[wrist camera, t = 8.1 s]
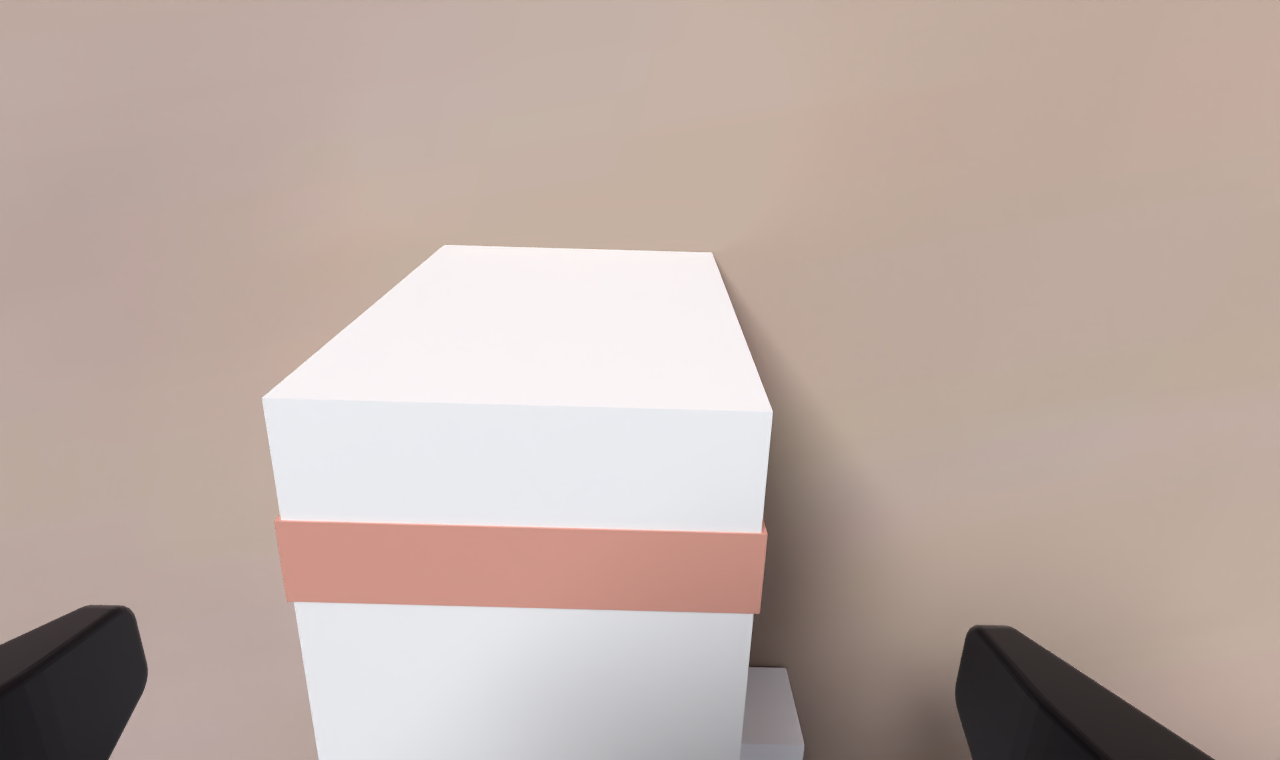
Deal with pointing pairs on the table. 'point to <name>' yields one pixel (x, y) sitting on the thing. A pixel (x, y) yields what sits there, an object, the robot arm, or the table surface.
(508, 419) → the white banded block
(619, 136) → the table surface
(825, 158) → the table surface
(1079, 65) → the table surface
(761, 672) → the grey frame stand
